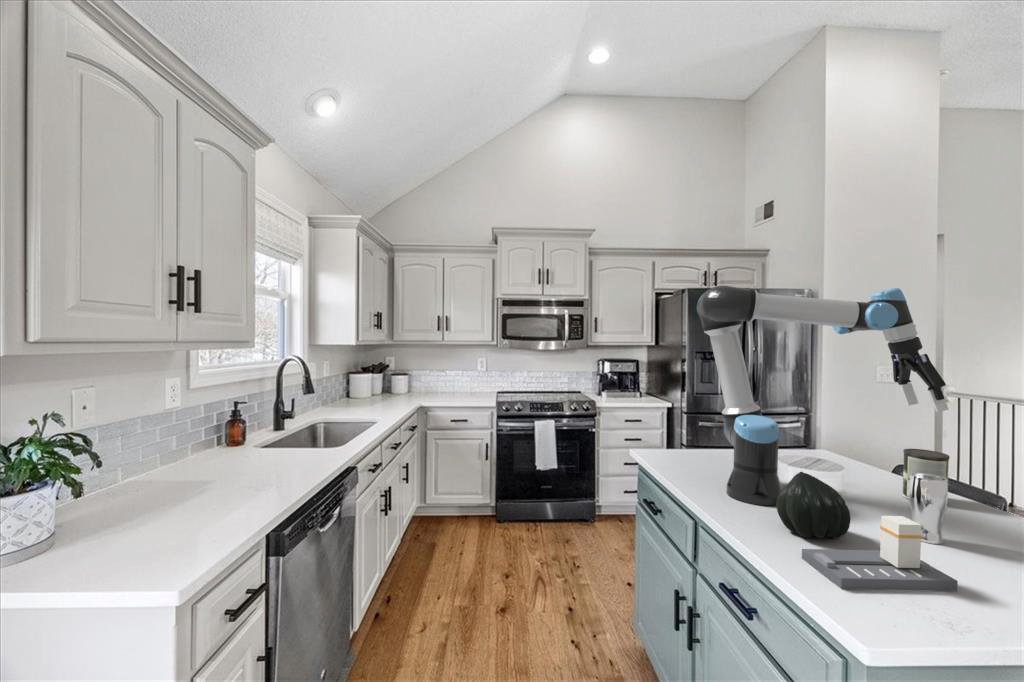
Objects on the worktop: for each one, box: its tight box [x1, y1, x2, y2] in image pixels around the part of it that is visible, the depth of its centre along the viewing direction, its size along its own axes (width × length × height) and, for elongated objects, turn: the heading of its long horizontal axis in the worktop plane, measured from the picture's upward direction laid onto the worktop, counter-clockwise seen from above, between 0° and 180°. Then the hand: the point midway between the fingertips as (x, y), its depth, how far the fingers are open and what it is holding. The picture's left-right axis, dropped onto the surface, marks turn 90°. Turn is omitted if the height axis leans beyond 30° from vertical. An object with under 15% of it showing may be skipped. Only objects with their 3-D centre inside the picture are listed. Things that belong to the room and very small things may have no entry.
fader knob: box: [879, 515, 922, 568], centre depth 93 cm, size 5×5×9 cm
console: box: [801, 548, 959, 592], centre depth 94 cm, size 22×12×3 cm, turn 90°
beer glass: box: [908, 473, 949, 545], centre depth 111 cm, size 7×7×15 cm
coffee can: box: [901, 448, 951, 505], centre depth 138 cm, size 10×10×14 cm
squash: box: [775, 471, 852, 539], centre depth 113 cm, size 14×15×15 cm
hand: (927, 407), depth 137 cm, fingers open, 13 cm apart
